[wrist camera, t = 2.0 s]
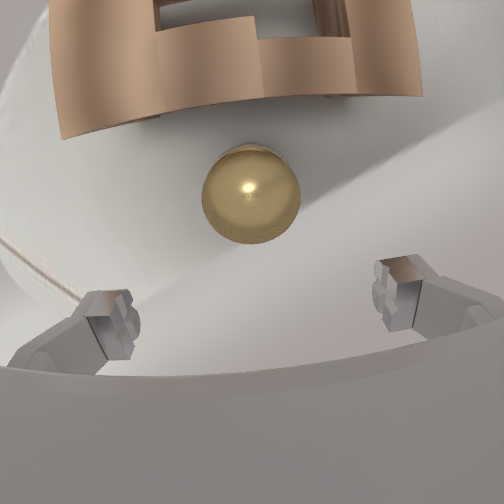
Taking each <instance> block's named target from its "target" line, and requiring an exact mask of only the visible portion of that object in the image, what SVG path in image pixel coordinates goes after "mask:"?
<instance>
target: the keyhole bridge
mask: <svg viewBox="0 0 504 504" xmlns="http://www.w3.org/2000/svg"><path fill="white" fill-rule="evenodd" d="M184 1H189V0H49V32H50V52H51V65H52V75H53V85H54V93H55V100H56V108H57V114H58V120H59V126H60V132H61V138H62V140H65V139H68V138H72V137H75V136H79V135H83V134H86V133H90V132H94V131H98V130H103V129H107V128H111V127H116V126H120V125H125V124H129V123H134V122H139V121H143V120H148V119H152V118H157V117H159V114H162V113H167V112H172V111H177V110H183V109H188V108H194V107H200V106H206V105H212V104H219V103H226V102H234V101H242V100H250V99H260V98H271V97H283V96H298V95H320V94H325V96H326V97H355V96H418V97H423V95H422V81H421V70H420V61H419V53H418V45H417V38H416V31H415V25H414V19H413V14H412V9H411V3H410V0H313V4H314V10H315V17H316V23H317V30H318V37H287V38H269V39H257V34H256V26H255V19H254V16H245V17H236V18H228V19H221V20H214V21H207V22H201V23H196V24H190V25H185V26H180V27H176V28H171V29H167V30H161V21H160V10H159V7H161V6H166V5H170V4H174V3H179V2H184Z"/></svg>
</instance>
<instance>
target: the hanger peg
mask: <svg viewBox="0 0 504 504" xmlns="http://www.w3.org/2000/svg"><path fill="white" fill-rule="evenodd" d="M202 206H203V210H204V213H205V215H206V218H207V219H208V221H209V223H210V224H211V225H212V227H213V228H214V229H215V230H216V231H217V232H218V233H220V234H221V235H222V236H224V237H225V238H227V239H229V240H232V241H234V242H238V243H242V244H259V243H263V242H267V241H270V240H272V239H274V238H276V237H277V236H279V235H281V234H282V233H283V232H285V231H286V230H287V229H288V228H289V226H290V225H291V224H292V223H293V221H294V219H295V217H296V215H297V213H298V210H299V206H300V188H299V185H298V181H297V179H296V177H295V175H294V173H293V172H292V170H291V169H290V167H289V166H288V164H287V163H286V162H285V160H284V159H283V158H282V157H281V156H280V155H279V154H278V153H276V152H275V151H273V150H271V149H269V148H267V147H264V146H261V145H256V144H252V143H246V144H242V145H240V146H237V147H234V148H232V149H230V150H228V151H226V152H225V153H223V154H222V155H221V156H220V157H219V158H218V159H217V160H216V162H215V163H214V165H213V166H212V168H211V170H210V172H209V174H208V175H207V178H206V180H205V182H204V185H203V190H202Z"/></svg>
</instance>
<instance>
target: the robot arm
mask: <svg viewBox="0 0 504 504" xmlns="http://www.w3.org/2000/svg"><path fill="white" fill-rule="evenodd" d="M374 274H375V275H376V277H377V280H376V281H375V282H374V284H373V290H372V295H373V302H374V305H375V308H376V309H377V311H378V312H380V313H382V314H383V318H382V320H383V322H384V323H385V325H386V327H387V329H388V331H389V332H394V331H400V330H405V329H410V328H413V330H415V331H416V332H418V333H419V334H421V335H422V336H424V337H425V338H427V339H428V340H427V341H423V342H420V343H415V344H411V345H407V346H403V347H399V348H394V349H390V350H386V351H381V352H376V353H372V354H366V355H361V356H355V357H351V358H345V359H339V360H333V361H327V362H321V363H314V364H307V365H300V366H294V367H285V368H277V369H268V370H258V371H247V372H236V373H222V374H207V375H187V376H186V375H185V376H105V375H95V374H96V373H97V372H98V371H99V370H100V369H101V368H102V367H103V366H104V365H105V364H106V363H107V362H108V361H107V360H130V357H131V355H132V352H133V350H134V347H135V346H134V343H133V341H134V340H135V339H136V338H138V336H139V333H140V318H139V315H138V312H137V310H136V309H134V308H133V307H132V306H131V304H132V302H133V298H132V296H131V293H130V291H129V290H127V289H117V290H102V291H101V290H99V291H91V292H87V294H86V295H85V297H84V298H83V299H82V301H81V302H80V304H79V305H78V307H77V308H76V310H75V311H74V313H73V314H72V315H71V317H70V318H65V319H64V320H62V321H61V322H59V323H58V324H56V325H54V326H53V327H51V328H50V329H48V330H47V331H45V332H44V333H42V334H40V335H39V336H37V337H36V338H34V339H33V340H31V341H29V342H28V343H26V344H25V345H23V346H22V347H20V348H19V349H18V350H17V351H16V353H15V355H14V356H13V357H12V359H11V360H10V362H9V364H8V365H7V367H5V366H0V504H504V301H503V300H502V299H501V298H500V297H498V296H495V295H492V294H490V293H487V292H485V291H482V290H480V289H477V288H474V287H472V286H469V285H466V284H464V283H461V282H458V281H456V280H453V279H450V278H448V277H445V276H439V275H438V274H437V273H436V272H435V271H434V270H433V269H432V268H431V267H430V266H429V265H428V264H427V263H426V262H425V261H424V260H423V259H422V258H421V257H420V256H419V255H417V254H414V255H408V256H402V257H396V258H390V259H384V260H379V261H376V263H375V267H374Z"/></svg>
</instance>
